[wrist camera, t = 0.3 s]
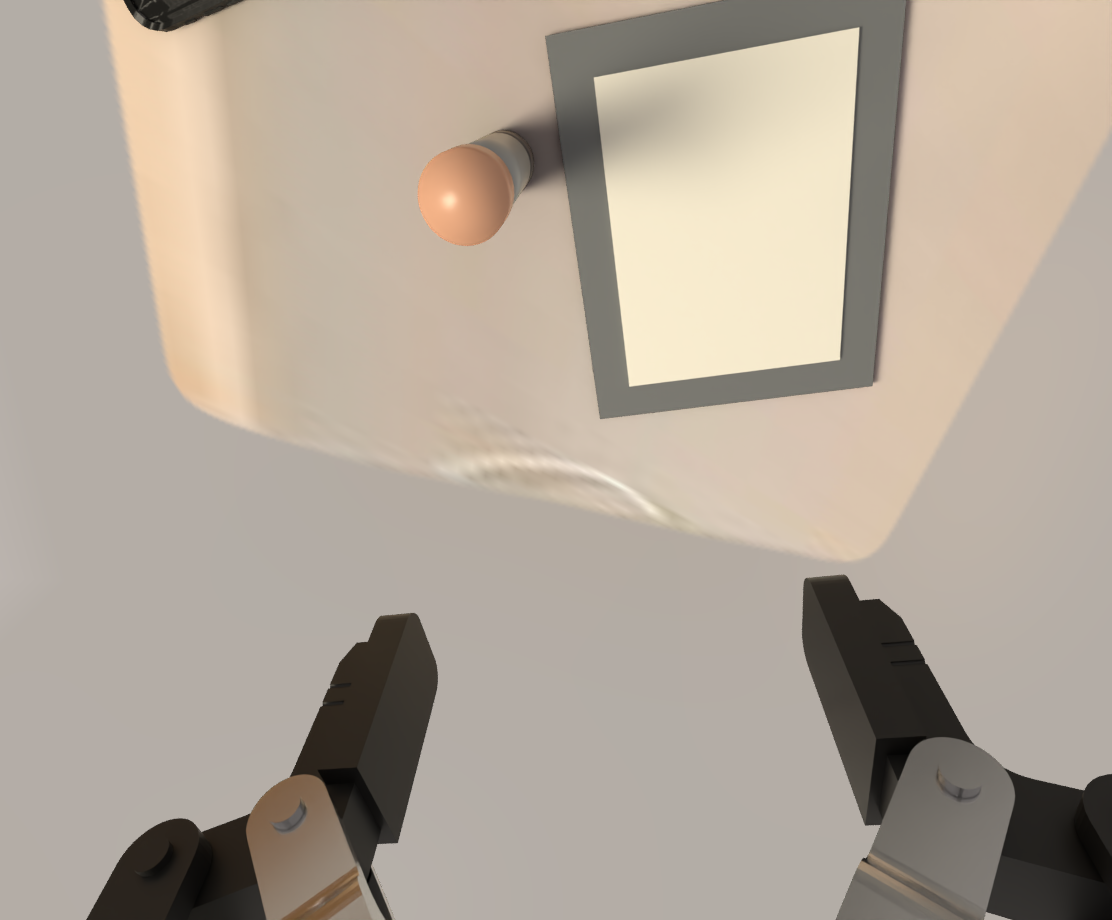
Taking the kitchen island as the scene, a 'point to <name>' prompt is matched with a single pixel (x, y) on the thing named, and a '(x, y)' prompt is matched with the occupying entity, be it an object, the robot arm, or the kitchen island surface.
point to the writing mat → (730, 196)
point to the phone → (173, 11)
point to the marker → (474, 187)
